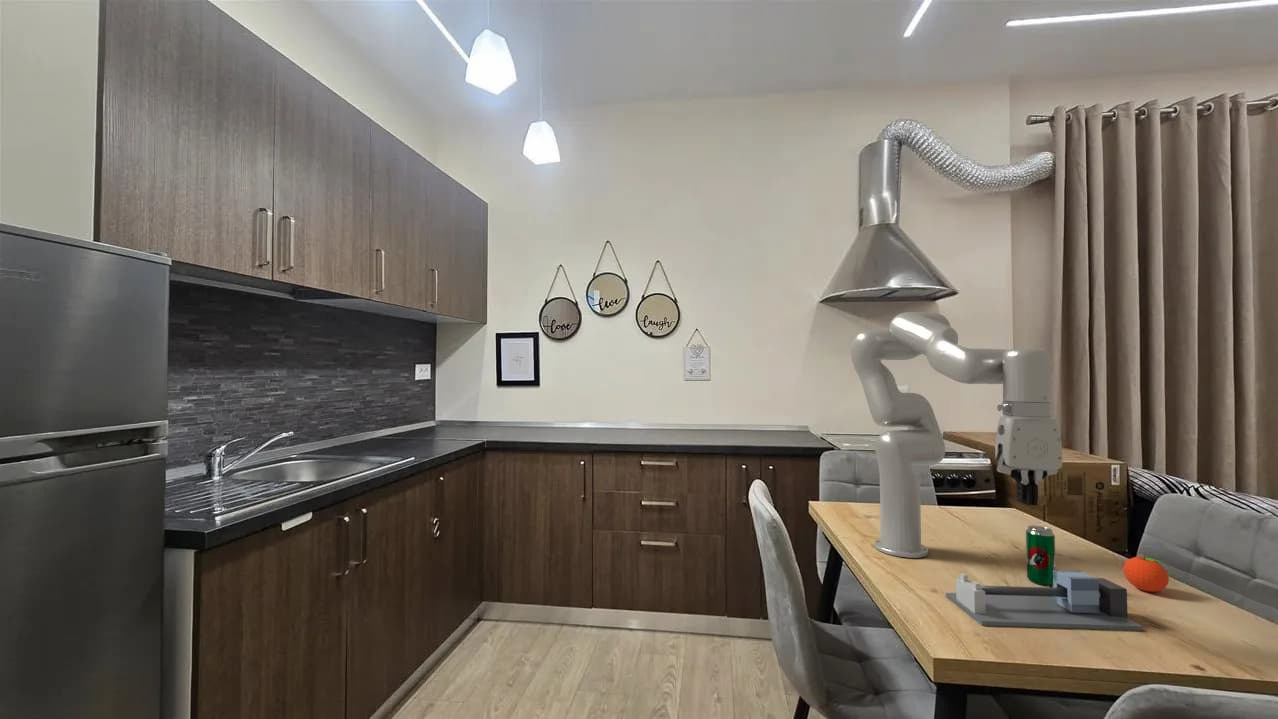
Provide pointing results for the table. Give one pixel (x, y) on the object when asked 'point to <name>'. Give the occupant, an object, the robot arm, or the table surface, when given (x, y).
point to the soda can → (1040, 555)
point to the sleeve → (1077, 591)
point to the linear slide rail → (1040, 606)
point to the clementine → (1146, 574)
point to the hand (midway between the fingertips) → (1027, 503)
